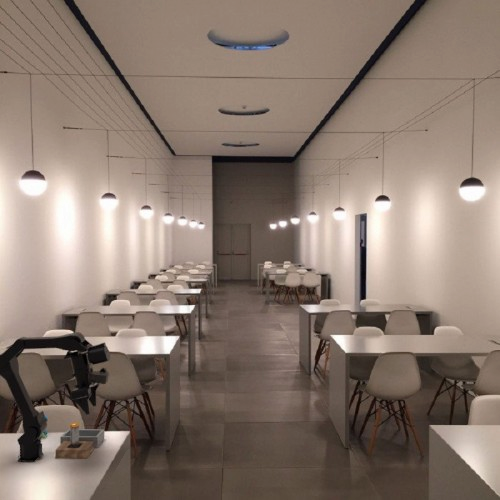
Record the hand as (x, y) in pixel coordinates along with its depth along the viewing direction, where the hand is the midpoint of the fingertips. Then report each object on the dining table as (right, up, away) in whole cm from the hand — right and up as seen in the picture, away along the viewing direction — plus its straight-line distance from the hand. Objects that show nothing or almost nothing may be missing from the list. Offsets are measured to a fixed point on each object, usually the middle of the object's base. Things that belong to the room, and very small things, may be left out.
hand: (91, 410), depth 185 cm
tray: (-7, -17, +12) cm, 22 cm away
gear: (-28, -17, +20) cm, 38 cm away
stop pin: (-7, -17, +3) cm, 18 cm away
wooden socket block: (-7, -17, +3) cm, 18 cm away
